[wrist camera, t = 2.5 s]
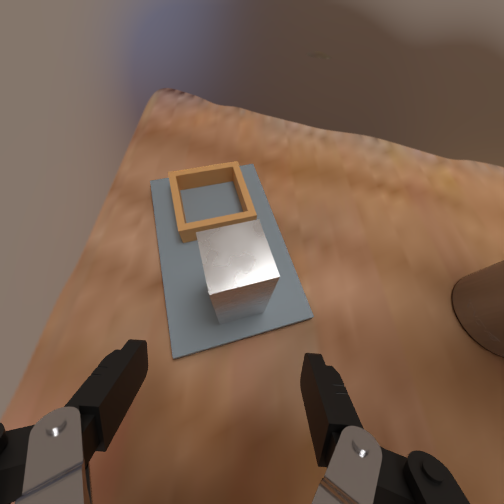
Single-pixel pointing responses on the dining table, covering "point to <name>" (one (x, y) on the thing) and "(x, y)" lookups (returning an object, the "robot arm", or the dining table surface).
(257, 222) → the brushed metal pillar
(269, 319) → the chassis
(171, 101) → the dining table surface
